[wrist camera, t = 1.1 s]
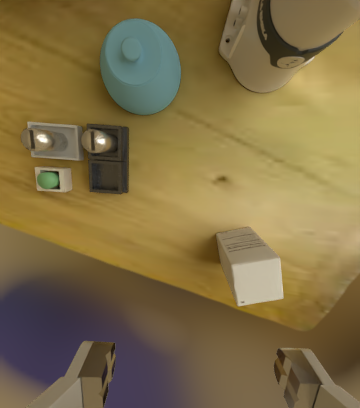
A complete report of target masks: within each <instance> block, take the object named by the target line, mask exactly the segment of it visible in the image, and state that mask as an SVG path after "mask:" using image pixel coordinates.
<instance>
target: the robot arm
mask: <svg viewBox="0 0 360 408" xmlns="http://www.w3.org/2000/svg"><path fill="white" fill-rule="evenodd" d="M359 19H360V0H232V1H231V5H230V9H229V12H228V16H227V20H226V23H225V27H224V30H223V34H222V38H221V41H220V45H219V53H220V55H221V56H222V57H223V58H224V59H225V60H226V61H227V62H228V63H229V64H230V66H231V68H232V70H233V73H234V75H235V77H236V78H237V80H238V81H239V82H240V83H241V84H242V85H243V86H244V87H246V88H247V89H249V90H251V91H254V92H260V93H265V92H271V91H274V90H277V89H279V88H280V87H282V86H283V85H285V84H286V83H287V82H288V81H289V80H290V79H291V78H292V77H293V75H294V74H295V73H296V72H297V71H298V70H299V69H300V68H302V67H304V66H305V65H307V64H308V63H310V62H311V61H312V60H313V59H314V57H315V56H316V55H317V54H318V53H320V52H321V51H322V50H324V49H325V48H326V47H328V46H330V45H331V44H332V43H333V42H334V41H335V40H336V39H337V38H338V37H339V36H340V35H341V34H342V33H343V31H344V30H346V29H347V28H348V27H350V26H351V25H352V24H354V23H355V22H356V21H358V20H359ZM225 40H228V41H229V43H226V41H225ZM114 351H115V343H109V342H95V341H84V342H83V343H82V344H81V345H80V347H79V349H78V351H77V353H76V355H75V357H74V359H73V361H72V363H71V365H70V367H69V369H68V371H67V373H66V375H65V377H61V378H59V379H58V380H57V381H56V382H55V383H54V384H53V385H52V386H50V387H49V388H48V389H47V390H46V391H44V392H43V393H42V394H41V395H40V396H39V397H37V398H36V399H35V400H34V401H33V402H32V403H31V404H30V405H28V406H27V407H26V408H104V405H105V401H106V398H107V394H108V383H109V382H110V381H111V380H112V377H113V374H114V368H115V362H116V356H115V354H114ZM276 354H277V356H278V358H277V359H276V360H275V362H274V372H275V376H276V379H277V382H278V384H279V385H280V386H281V387H282V388H283V389H284V390H285V391H284V398H285V400H286V402H287V404H288V407H289V408H360V402H359V401H358V400H356V399H355V398H354V397H352V396H351V395H350V394H349V393H347V392H346V391H345V390H343V389H342V388H341V387H340V386H338V385H335V384H334V383H333V381H332V380H331V378H330V377H329V375H328V374H327V372H326V371H325V370H324V368H323V367H322V365H321V364H320V362H319V361H318V359H317V358H316V356H315V355H314V354H313V352H312V351H311V350H310V349H298V348H279V349H278V350H277V353H276Z"/></svg>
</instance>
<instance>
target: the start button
mask: <svg viewBox="0 0 360 408" xmlns="http://www.w3.org/2000/svg"><path fill="white" fill-rule="evenodd" d="M37 183H38V185H39V186H40V187H41V188H43V189H50V188H53V187H57V186H59V185H60V180H59V175H58V174H57V173H56V172H45V173H40V174H39V175H38V177H37Z"/></svg>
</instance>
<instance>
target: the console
mask: <svg viewBox="0 0 360 408" xmlns="http://www.w3.org/2000/svg"><path fill="white" fill-rule="evenodd" d="M49 171H59V180H60V187H53V188H50V189H43V188H41V187H40V186H39V185H38V183H37V177H38V175H39V174H40V173H45V172H49ZM35 175H36V184H37V190H38V191H53V192H68V191H70V190H72V177H71V168H62V167H49V166H41V167H35Z"/></svg>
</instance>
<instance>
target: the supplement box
mask: <svg viewBox="0 0 360 408" xmlns="http://www.w3.org/2000/svg"><path fill="white" fill-rule="evenodd" d="M216 239H217V245H218V251H219V257H220V262H221V266H222V268H223V271H224V273H225V276H226V278H227V281H228V283H229V286H230V289H231V291H232V294H233V296H234V299H235V301H236V304H237V306H243V305H248V304H253V303H259V302H266V301H272V300H278V299H283V287H282V275H281V264H280V257H279V256H278V255H277V254H276V253H275V252H274V251H273V250H272V249H271V248H270V247H269V246H268V245H267V244H266V243H265V242H264V241H263V240H262V239H261V238H260V237H259V236H258V234H257V233H256V232H255V231H254V230H253V229H252V228H251V227H247V228H241V229H236V230H231V231H226V232H221V233H216Z"/></svg>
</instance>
